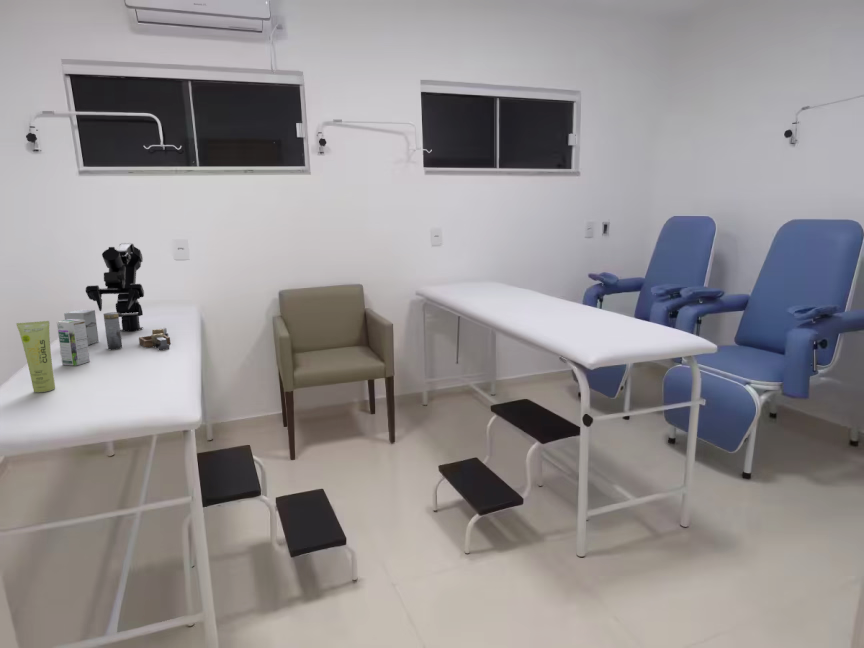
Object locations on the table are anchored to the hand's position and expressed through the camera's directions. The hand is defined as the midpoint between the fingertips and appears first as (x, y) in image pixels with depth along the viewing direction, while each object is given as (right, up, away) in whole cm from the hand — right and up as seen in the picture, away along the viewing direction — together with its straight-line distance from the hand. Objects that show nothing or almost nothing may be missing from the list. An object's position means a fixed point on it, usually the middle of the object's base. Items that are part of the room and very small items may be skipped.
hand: (114, 309), depth 202 cm
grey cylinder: (+3, -14, -5) cm, 15 cm away
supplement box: (-13, -13, +2) cm, 19 cm away
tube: (+12, -24, -53) cm, 59 cm away
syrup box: (+2, -19, -25) cm, 31 cm away
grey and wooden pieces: (+17, -13, +3) cm, 21 cm away
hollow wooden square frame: (+15, -13, +1) cm, 20 cm away
